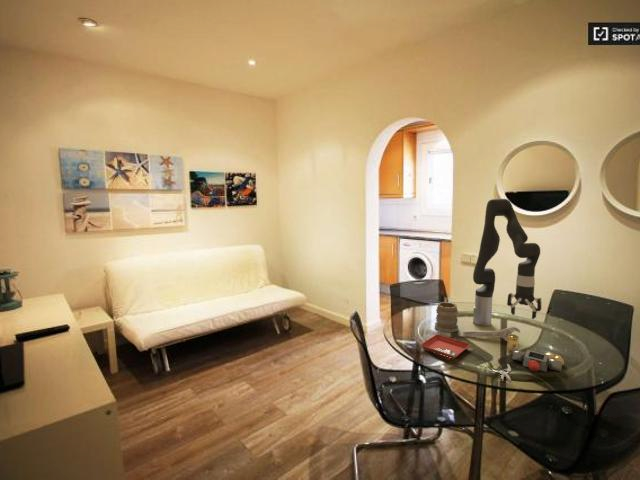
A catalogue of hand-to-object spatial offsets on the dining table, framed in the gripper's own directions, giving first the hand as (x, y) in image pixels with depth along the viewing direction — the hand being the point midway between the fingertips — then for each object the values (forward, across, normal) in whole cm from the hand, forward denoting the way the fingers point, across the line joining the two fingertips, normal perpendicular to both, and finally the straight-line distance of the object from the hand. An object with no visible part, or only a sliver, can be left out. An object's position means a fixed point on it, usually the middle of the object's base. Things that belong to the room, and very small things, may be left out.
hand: (523, 316), depth 171 cm
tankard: (+18, -41, +8) cm, 45 cm away
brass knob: (+18, -3, -4) cm, 18 cm away
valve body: (+18, +9, -13) cm, 24 cm away
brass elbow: (+16, +12, -2) cm, 20 cm away
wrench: (+18, -17, +4) cm, 25 cm away
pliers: (+18, -1, -28) cm, 33 cm away
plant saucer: (+18, -29, -23) cm, 41 cm away
